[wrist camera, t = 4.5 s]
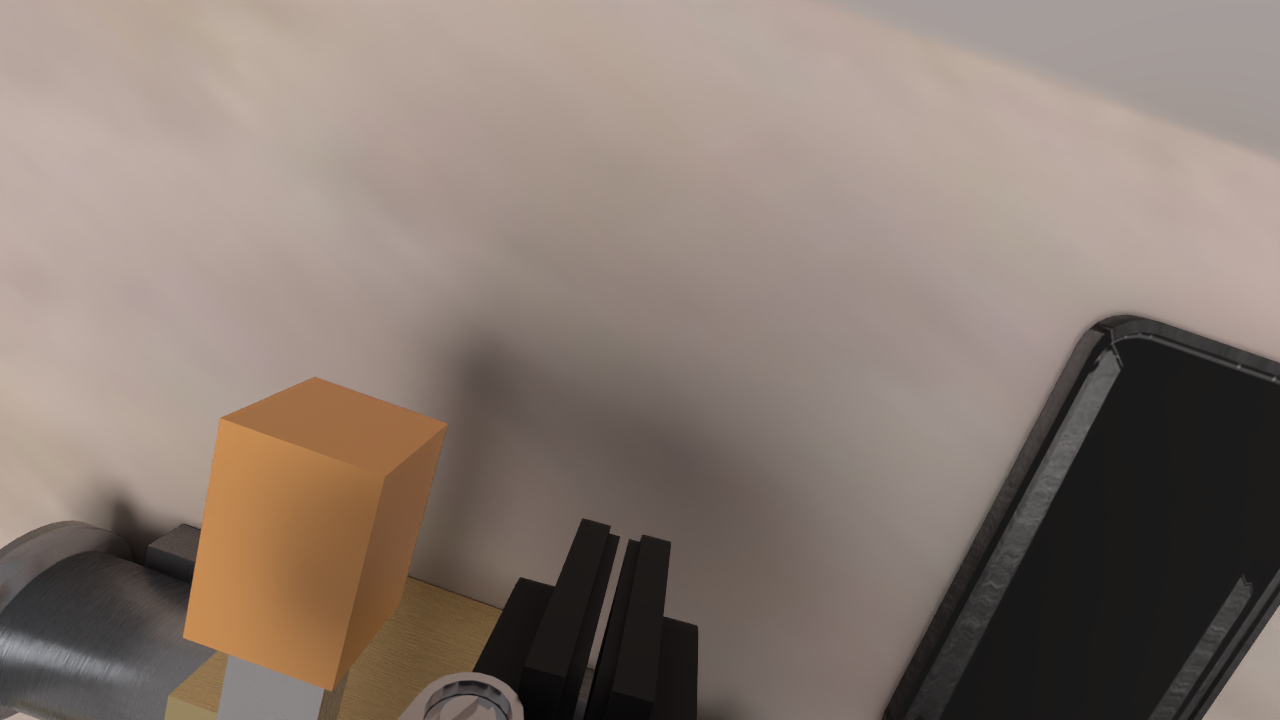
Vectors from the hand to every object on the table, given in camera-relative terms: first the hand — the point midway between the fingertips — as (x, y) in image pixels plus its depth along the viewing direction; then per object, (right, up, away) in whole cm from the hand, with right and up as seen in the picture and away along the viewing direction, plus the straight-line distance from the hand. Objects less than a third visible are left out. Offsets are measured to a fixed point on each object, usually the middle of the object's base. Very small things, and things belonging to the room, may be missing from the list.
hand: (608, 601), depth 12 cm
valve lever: (-6, -3, +2) cm, 7 cm away
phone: (+14, -2, +8) cm, 16 cm away
